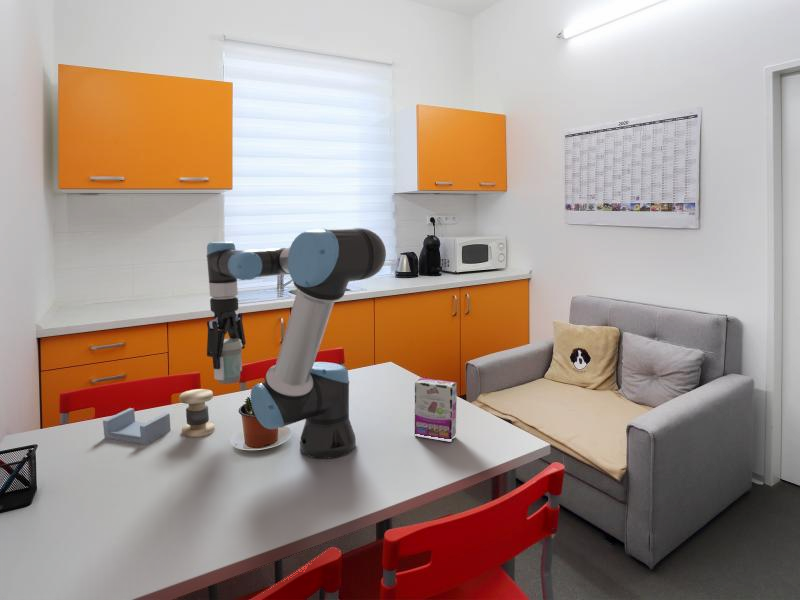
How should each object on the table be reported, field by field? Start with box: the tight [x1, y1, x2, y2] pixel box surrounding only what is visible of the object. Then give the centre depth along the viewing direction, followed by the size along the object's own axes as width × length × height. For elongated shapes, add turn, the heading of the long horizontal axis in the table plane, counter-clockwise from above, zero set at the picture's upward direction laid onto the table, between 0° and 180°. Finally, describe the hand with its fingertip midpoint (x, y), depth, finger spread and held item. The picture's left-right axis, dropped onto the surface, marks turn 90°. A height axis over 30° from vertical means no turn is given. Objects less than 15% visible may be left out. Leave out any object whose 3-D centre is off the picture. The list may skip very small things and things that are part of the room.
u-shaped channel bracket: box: [102, 407, 171, 445], centre depth 155 cm, size 10×14×5 cm
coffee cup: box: [217, 337, 243, 385], centre depth 156 cm, size 9×8×12 cm
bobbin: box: [178, 388, 216, 439], centre depth 157 cm, size 9×9×11 cm
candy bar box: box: [414, 377, 458, 439], centre depth 154 cm, size 11×5×16 cm, turn 68°
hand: (228, 374), depth 157 cm, fingers closed on coffee cup, 8 cm apart
